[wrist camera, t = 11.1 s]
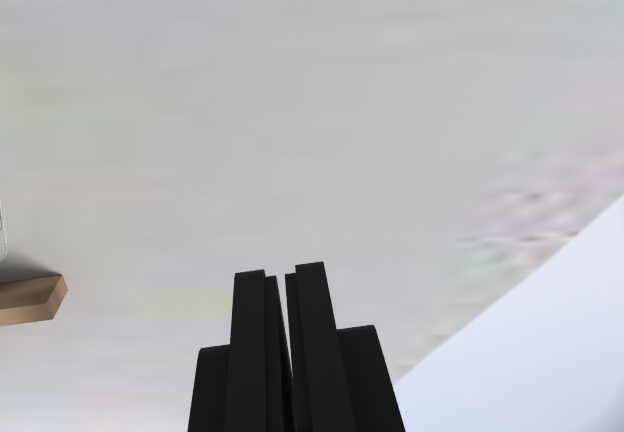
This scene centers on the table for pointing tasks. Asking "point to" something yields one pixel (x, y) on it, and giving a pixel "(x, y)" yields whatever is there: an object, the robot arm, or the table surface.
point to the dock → (31, 299)
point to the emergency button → (2, 237)
